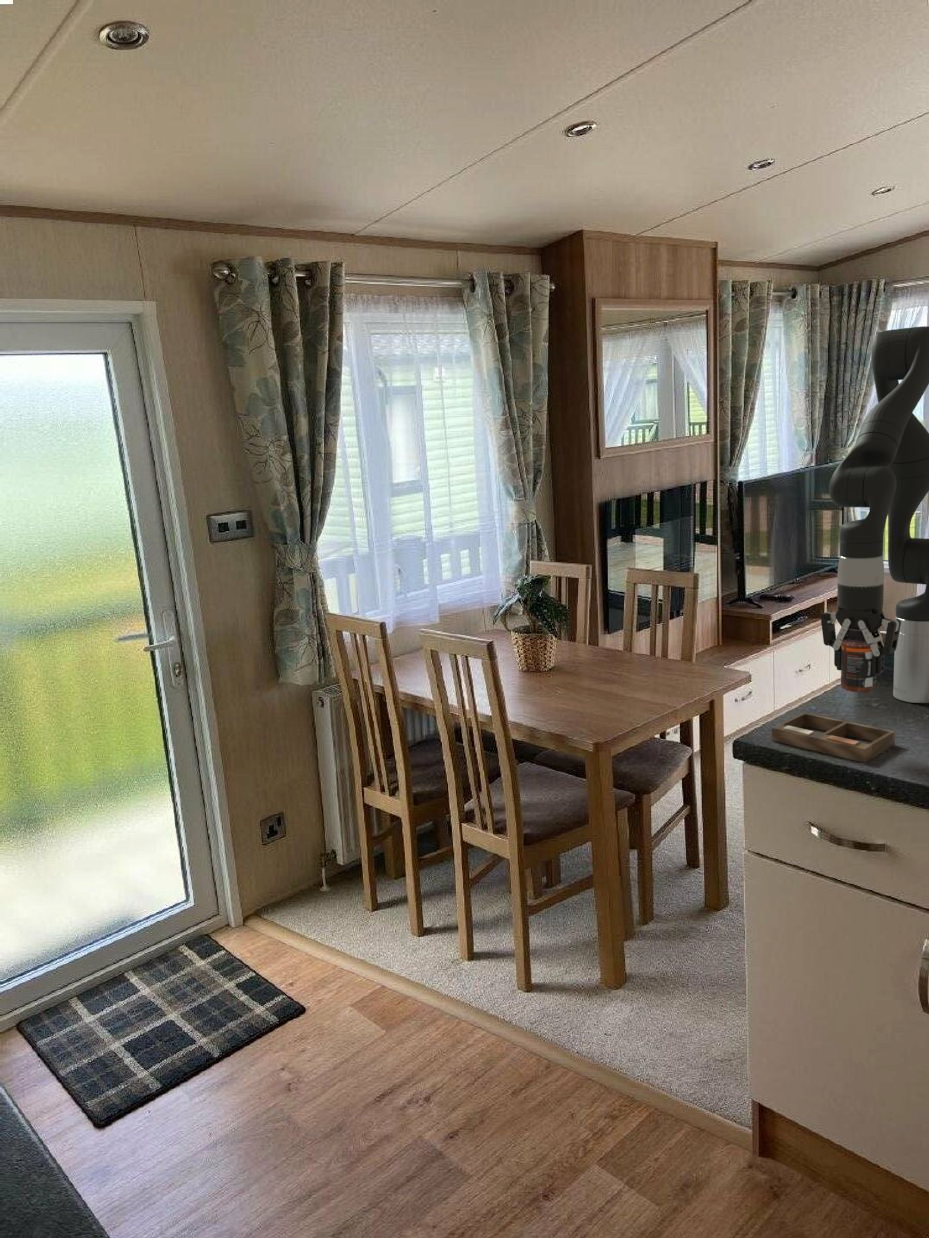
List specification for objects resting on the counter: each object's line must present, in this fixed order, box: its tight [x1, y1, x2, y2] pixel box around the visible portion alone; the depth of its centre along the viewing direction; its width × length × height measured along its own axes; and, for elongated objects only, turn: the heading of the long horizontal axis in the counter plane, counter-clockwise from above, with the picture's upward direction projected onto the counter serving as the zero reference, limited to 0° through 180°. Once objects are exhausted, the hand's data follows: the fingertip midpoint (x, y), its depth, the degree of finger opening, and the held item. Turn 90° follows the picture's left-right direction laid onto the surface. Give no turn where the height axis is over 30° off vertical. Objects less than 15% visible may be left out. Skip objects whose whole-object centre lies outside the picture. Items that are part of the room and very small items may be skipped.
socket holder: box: [771, 712, 896, 764], centre depth 176 cm, size 18×11×3 cm, turn 41°
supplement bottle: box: [840, 628, 877, 693], centre depth 170 cm, size 6×6×11 cm
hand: (858, 671), depth 170 cm, fingers closed on supplement bottle, 6 cm apart
